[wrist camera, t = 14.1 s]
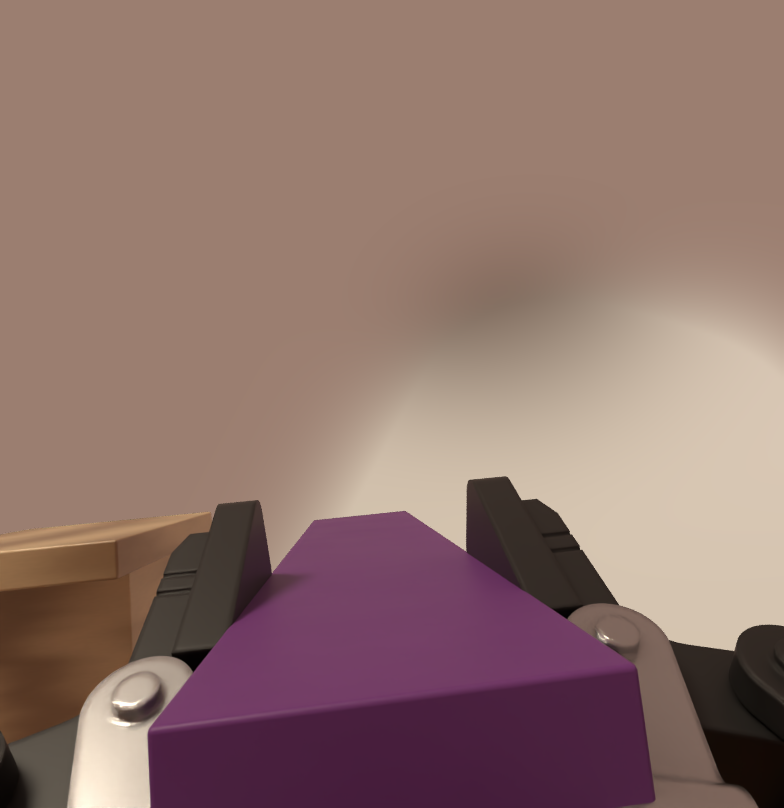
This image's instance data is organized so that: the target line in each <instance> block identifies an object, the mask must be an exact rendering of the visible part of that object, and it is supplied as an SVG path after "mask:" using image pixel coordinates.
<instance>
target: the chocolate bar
mask: <svg viewBox="0 0 784 808" xmlns="http://www.w3.org/2000/svg"><path fill="white" fill-rule="evenodd" d="M147 738H148V761H149V784H150V808H617V807H624V806H630V805H637V804H645V803H652V802H654V801H655V800H656V798H655V791H654V784H653V776H652V769H651V762H650V755H649V748H648V741H647V734H646V727H645V720H644V712H643V705H642V698H641V691H640V684H639V677H638V670H637V668H636V666H635V664H633V663H632V662H630V661H629V660H627V659H626V658H624V657H623V656H621V655H620V654H618V653H617V652H615V651H614V650H612V649H611V648H609V647H608V646H606V645H605V644H603V643H602V642H600V641H599V640H597V639H596V638H594V637H593V636H591V635H590V634H588V633H587V632H585V631H584V630H582V629H581V628H579V627H578V626H576V625H575V624H573V623H572V622H570V621H569V620H567V619H566V618H564V617H563V616H561V615H560V614H558V613H557V612H556V611H554V610H553V609H551V608H550V607H548V606H547V605H545V604H544V603H542V602H541V601H539V600H538V599H536V598H535V597H533V596H532V595H530V594H529V593H527V592H525V591H523V590H521V589H520V588H518V587H517V586H515V585H514V584H512V583H511V582H509V581H508V580H506V579H505V578H503V577H502V576H501V575H499V574H498V573H496V572H495V571H493V570H492V569H490V568H489V567H487V566H486V565H484V564H483V563H481V562H480V561H478V560H477V559H475V558H474V557H472V556H471V555H469V554H468V553H467V552H466V551H464V550H463V549H461V548H460V547H458V546H457V545H455V544H454V543H452V542H451V541H449V540H448V539H446V538H445V537H443V536H442V535H440V534H439V533H437V532H436V531H434V530H433V529H432V528H430V527H428V526H427V525H425V524H424V523H423V522H421V521H419V520H418V519H417V518H415V517H413V516H412V515H410V514H409V513H407V512H406V511H400V512H390V513H380V514H371V515H361V516H351V517H343V518H332V519H322V520H314V521H313V523H312V524H311V525H310V526H309V527H308V529H307V530H306V532H305V533H304V534H303V535H302V536H301V538H300V539H299V540H298V541H297V543H296V544H295V545H294V546H293V548H292V549H291V550H290V551H289V553H288V554H287V555H286V557H285V558H284V559H283V560H282V561H281V563H280V564H279V565H278V567H277V568H276V569H275V570H274V572H273V573H272V575H271V576H270V577H269V579H268V580H267V581H266V582H265V584H264V585H263V586H262V587H261V589H260V590H259V591H258V593H257V594H256V595H255V596H254V598H253V599H252V600H251V601H250V603H249V604H248V605H247V607H246V608H245V609H244V610H243V612H242V613H241V614H240V615H239V617H238V618H237V619H236V621H235V622H234V623H233V624H232V626H230V627H229V628H228V629H227V631H226V632H225V633H224V635H223V636H222V637H221V638H220V640H219V641H218V642H217V643H216V645H215V646H214V647H213V648H212V650H211V651H210V652H209V653H208V655H207V656H206V657H205V658H204V660H203V661H202V662H201V663H200V665H199V666H198V667H197V668H196V670H195V671H194V672H193V674H192V675H191V676H190V677H189V679H188V680H187V681H186V682H185V684H184V685H183V686H182V687H181V689H180V690H179V691H178V692H177V694H176V695H175V696H174V697H173V699H172V700H171V701H170V702H169V704H168V705H167V706H166V708H165V709H164V710H163V711H162V713H161V714H160V715H159V716H158V718H157V719H156V720H155V721H154V723H153V724H152V725H151V726H150V728H149V730H148V733H147Z"/></svg>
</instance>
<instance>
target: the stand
mask: <svg viewBox="0 0 784 808" xmlns="http://www.w3.org/2000/svg"><path fill="white" fill-rule="evenodd" d="M211 524H212V520H211V512H203V513H192V514H182V515H172V516H162V517H152V518H141V519H130V520H120V521H110V522H99V523H89V524H79V525H69V526H58V527H48V528H39V529H29V530H23V531H18V532H12V533H7V534H1V535H0V731H1V732H2V734H3V736H4V738H5V740H6V742H7V744H9V743H11V742H14V741H17V740H19V739H22V738H24V737H27V736H29V735H32V734H35V733H37V732H40V731H42V730H45V729H48V728H50V727H53V726H55V725H58V724H60V723H63V722H65V721H67V720H70V719H72V718H74V717H76V716H77V715H79V714H80V712H81V709H82V707H83V705H84V703H85V701H86V699H87V698H88V696H89V695H90V693H91V692H92V691H93V690H94V689H95V687H96V686H97V685H98V684H99V683H100V682H101V681H103V680H104V679H105V678H106V677H107V676H109V675H110V674H111V673H113V672H114V671H116V670H118V669H119V668H121V667H123V666H125V665H127V664H128V663H129V660H130V658H131V655H132V652H133V650H134V647H135V645H136V642H137V640H138V637H139V635H140V632H141V629H142V627H143V624H144V622H145V619H146V617H147V614H148V612H149V609H150V606H151V604H152V601H153V599H154V596H156V591H157V589H158V586H159V584H160V581H161V578H163V573H164V571H165V568H166V566H167V563H168V561H169V558H170V555H171V553H172V552H173V551H174V550H175V549H176V548H177V547H178V546H179V545H180V544H181V543H182V542H183V541H184V540H185V539H186V538H187V537H188V536H189V535H190V534H194V533H204V532H209V530H210V527H211Z"/></svg>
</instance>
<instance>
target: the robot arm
mask: <svg viewBox="0 0 784 808" xmlns="http://www.w3.org/2000/svg"><path fill="white" fill-rule="evenodd" d="M466 526H467V527H466V528H467V529H466V548H467V549H466V550H467V553H468V554H469V555H471V556H472V557H474V558H475V559H477V560H478V561H480V562H481V563H483V564H484V565H486V566H487V567H489V568H490V569H492V570H493V571H495V572H496V573H498V574H499V575H501V576H502V577H503V578H505V579H506V580H508V581H509V582H511V583H512V584H514V585H515V586H517V587H518V588H520V589H521V590H523V591H525V592H527V593H529V594H530V595H532V596H533V597H535V598H536V599H538V600H539V601H541V602H542V603H544V604H545V605H547V606H548V607H550V608H551V609H553V610H554V611H556V612H557V613H558V614H560V615H561V616H563V617H564V618H566V619H567V620H569V621H570V622H572V623H573V624H575V625H576V626H578V627H579V628H581V629H582V630H584V631H585V632H587V633H588V634H590V635H591V636H593V637H594V638H596V639H597V640H599V641H600V642H602V643H603V644H605V645H606V646H608V647H609V648H611V649H612V650H614V651H615V652H617V653H618V654H620V655H621V656H623V657H624V658H626V659H627V660H629V661H630V662H632V663H633V664H635V666H636V668H637V670H638V677H639V684H640V691H641V698H642V705H643V712H644V720H645V727H646V734H647V741H648V748H649V755H650V762H651V769H652V776H653V784H654V791H655V798H656V800H655V801H654V802H652V803H645V804H637V805H630V806H624V807H617V808H784V626H779V625H759V626H754V627H751V628H749V629H747V630H745V631H744V632H743V633H742V634H741V635H740V636H739V638H738V640H737V643H736V647H735V651H729V650H722V649H714V648H708V647H700V646H694V645H686V644H682V643H677V642H674V641H670V640H668V638H667V636H666V635H665V634H664V632H663V631H662V630H661V629H660V628H659V627H658V626H657V625H656V624H655V623H654V622H653V621H651V620H650V619H649V618H647V617H646V616H644V615H642V614H641V613H639V612H636V611H634V610H632V609H629V608H626V607H623V606H619V604H618V603H617V601H616V600H615V598H614V597H613V595H612V594H611V592H610V591H609V589H608V588H607V586H606V585H605V583H604V582H603V580H602V579H601V577H600V576H599V574H598V573H597V571H596V570H595V568H594V567H593V565H592V564H591V562H590V561H589V559H588V558H587V556H586V555H585V553H584V552H583V550H580V546H579V544H578V543H577V541H576V540H575V538H574V537H573V535H570V531H569V529H568V528H567V527H566V525H565V524H564V522H563V520H562V519H561V518H560V516H559V515H558V513H557V512H555V511H554V510H552V509H551V508H549V507H548V506H546V505H545V504H543V503H542V502H540V501H539V500H538V499H532V500H521V498H520V497H519V495H518V494H517V492H516V490H515V488H514V487H513V485H512V483H511V482H510V480H509V479H508V477H495V478H484V479H474V480H469V481H468V484H467V524H466ZM271 575H272V572H271V564H270V558H269V551H268V545H267V539H266V533H265V527H264V520H263V515H262V509H261V505H260V502H259V501H258V500H255V501H246V502H236V503H225V504H219V505H218V506H217V508H216V511H215V514H214V518H213V521H212V524H211V527H210V530H209V532H204V533H194V534H190V535H189V536H188V537H187V538H186V539H185V540H184V541H183V542H182V543H181V544H180V545H179V546H178V547H177V548H176V549H175V550H174V551H173V552H172V553H171V555H170V558H169V561H168V563H167V566H166V568H165V571H164V573H163V578H161V581H160V584H159V586H158V589H157V591H156V596H154V599H153V601H152V604H151V606H150V609H149V612H148V614H147V617H146V619H145V622H144V624H143V627H142V629H141V632H140V635H139V637H138V640H137V642H136V645H135V647H134V650H133V652H132V655H131V658H130V660H129V663H128V664H127V665H125V666H123V667H121V668H119V669H118V670H116V671H114V672H113V673H111V674H110V675H109V676H107V677H106V678H105V679H104V680H103V681H101V682H100V683H99V684H98V685H97V686H96V687H95V689H94V690H93V691H92V692H91V693H90V695H89V696H88V698H87V699H86V701H85V703H84V705H83V707H82V709H81V712H80V714H79V715H77V716H76V717H74V718H72V719H70V720H67V721H65V722H63V723H60V724H58V725H55V726H53V727H50V728H48V729H45V730H42V731H40V732H37V733H35V734H32V735H29V736H27V737H24V738H22V739H19V740H17V741H14V742H11V743H9V744H7V742H6V740H5V738H4V736H3V734H2V732H1V731H0V808H150V784H149V761H148V738H147V733H148V730H149V728H150V726H151V725H152V724H153V723H154V721H155V720H156V719H157V718H158V716H159V715H160V714H161V713H162V711H163V710H164V709H165V708H166V706H167V705H168V704H169V702H170V701H171V700H172V699H173V697H174V696H175V695H176V694H177V692H178V691H179V690H180V689H181V687H182V686H183V685H184V684H185V682H186V681H187V680H188V679H189V677H190V676H191V675H192V674H193V672H194V671H195V670H196V668H197V667H198V666H199V665H200V663H201V662H202V661H203V660H204V658H205V657H206V656H207V655H208V653H209V652H210V651H211V650H212V648H213V647H214V646H215V645H216V643H217V642H218V641H219V640H220V638H221V637H222V636H223V635H224V633H225V632H226V631H227V629H228V628H229V627H230V626H232V624H233V623H234V622H235V621H236V619H237V618H238V617H239V615H240V614H241V613H242V612H243V610H244V609H245V608H246V607H247V605H248V604H249V603H250V601H251V600H252V599H253V598H254V596H255V595H256V594H257V593H258V591H259V590H260V589H261V587H262V586H263V585H264V584H265V582H266V581H267V580H268V579H269V577H270V576H271Z"/></svg>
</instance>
